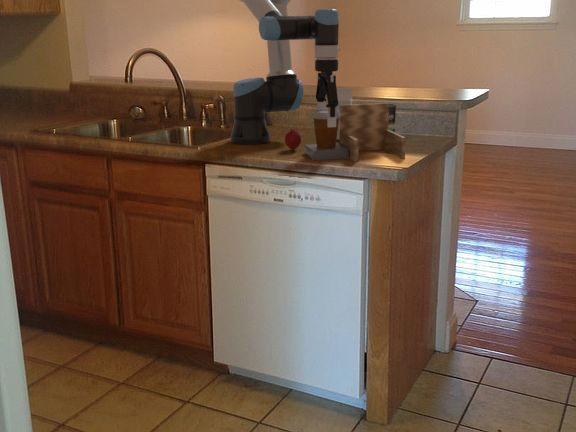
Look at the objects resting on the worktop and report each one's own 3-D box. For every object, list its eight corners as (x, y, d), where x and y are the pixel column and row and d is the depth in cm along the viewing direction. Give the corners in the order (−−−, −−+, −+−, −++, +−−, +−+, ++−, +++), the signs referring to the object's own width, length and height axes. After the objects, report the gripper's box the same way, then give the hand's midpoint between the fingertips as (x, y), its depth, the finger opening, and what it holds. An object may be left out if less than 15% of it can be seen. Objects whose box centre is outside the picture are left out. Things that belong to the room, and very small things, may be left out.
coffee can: (398, 145, 239) (400, 106, 235) (371, 146, 238) (372, 107, 234) (390, 140, 249) (391, 102, 245) (363, 141, 247) (364, 103, 243)
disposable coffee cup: (308, 144, 226) (308, 109, 222) (335, 143, 228) (336, 108, 224) (316, 150, 217) (316, 113, 214) (343, 148, 219) (344, 112, 216)
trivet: (313, 160, 216) (313, 151, 216) (305, 153, 228) (305, 144, 227) (348, 158, 219) (348, 149, 218) (338, 151, 230) (338, 142, 229)
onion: (285, 148, 236) (285, 126, 234) (301, 148, 236) (301, 126, 234) (284, 151, 231) (283, 129, 229) (300, 151, 230) (300, 129, 228)
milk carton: (350, 140, 250) (350, 89, 245) (331, 140, 252) (331, 89, 246) (352, 137, 257) (352, 87, 252) (333, 136, 259) (334, 87, 253)
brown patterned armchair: (354, 161, 214) (355, 111, 209) (339, 151, 231) (339, 105, 226) (404, 158, 217) (406, 109, 212) (386, 148, 234) (387, 103, 229)
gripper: (348, 60, 203) (347, 129, 209) (328, 56, 226) (327, 118, 233) (324, 61, 202) (324, 130, 208) (306, 57, 225) (307, 119, 231)
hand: (326, 124), depth 220 cm, fingers open, 13 cm apart
